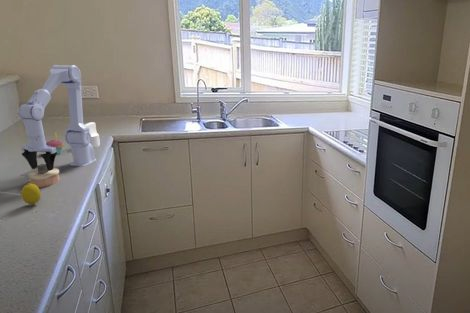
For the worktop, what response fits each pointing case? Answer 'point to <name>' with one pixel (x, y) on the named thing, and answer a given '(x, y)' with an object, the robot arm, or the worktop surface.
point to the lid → (42, 173)
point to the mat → (36, 169)
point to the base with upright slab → (93, 134)
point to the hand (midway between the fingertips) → (42, 169)
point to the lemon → (30, 193)
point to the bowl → (45, 181)
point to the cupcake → (56, 144)
